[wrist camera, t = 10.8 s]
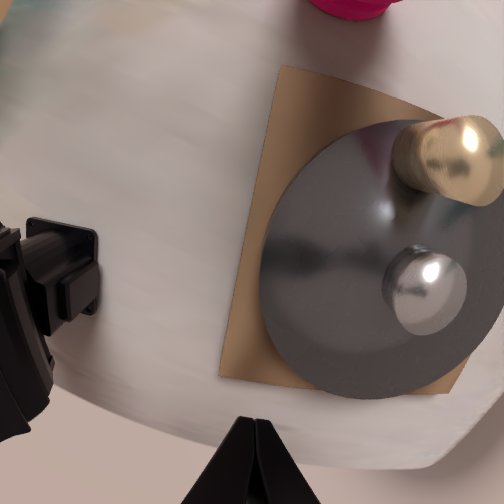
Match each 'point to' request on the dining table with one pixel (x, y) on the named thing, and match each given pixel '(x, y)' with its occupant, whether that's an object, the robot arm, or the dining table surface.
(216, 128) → the dining table surface
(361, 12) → the pepper mill
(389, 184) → the handwheel
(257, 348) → the wheel mount
